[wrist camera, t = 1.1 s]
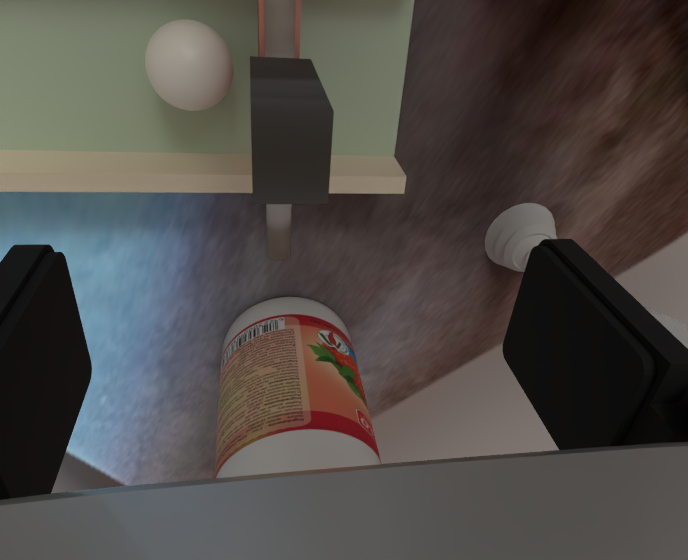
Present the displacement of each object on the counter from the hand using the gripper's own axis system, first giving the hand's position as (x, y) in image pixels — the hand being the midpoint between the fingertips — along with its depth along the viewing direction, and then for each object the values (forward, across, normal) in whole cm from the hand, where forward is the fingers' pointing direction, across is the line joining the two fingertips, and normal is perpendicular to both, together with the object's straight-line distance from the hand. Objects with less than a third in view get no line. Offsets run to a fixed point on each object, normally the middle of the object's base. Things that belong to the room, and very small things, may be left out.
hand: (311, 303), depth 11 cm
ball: (+18, +4, -1) cm, 19 cm away
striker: (+20, 0, -1) cm, 20 cm away
